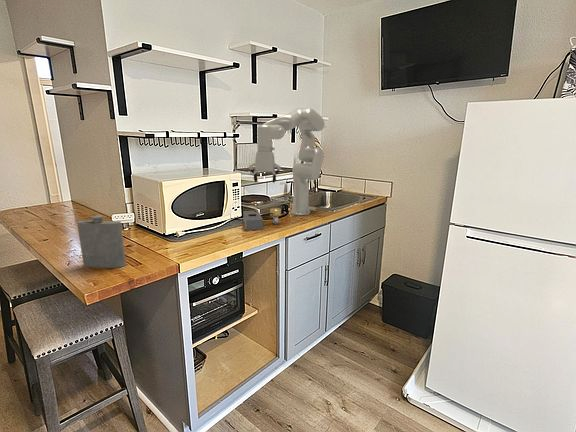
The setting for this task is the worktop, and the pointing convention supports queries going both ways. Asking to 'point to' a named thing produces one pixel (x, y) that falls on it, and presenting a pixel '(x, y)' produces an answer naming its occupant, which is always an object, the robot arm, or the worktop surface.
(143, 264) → the worktop surface
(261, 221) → the gray slotted box
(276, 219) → the light bulb
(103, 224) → the hip flask
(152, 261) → the worktop surface
